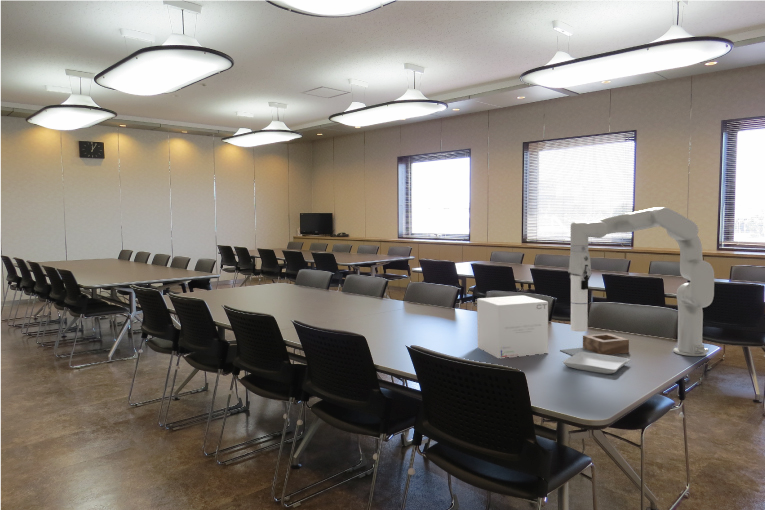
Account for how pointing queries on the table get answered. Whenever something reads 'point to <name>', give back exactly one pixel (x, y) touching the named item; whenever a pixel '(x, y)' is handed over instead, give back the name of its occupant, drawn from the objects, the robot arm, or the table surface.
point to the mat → (576, 351)
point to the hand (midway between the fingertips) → (579, 288)
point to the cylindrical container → (578, 305)
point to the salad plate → (595, 362)
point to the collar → (606, 344)
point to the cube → (512, 326)
